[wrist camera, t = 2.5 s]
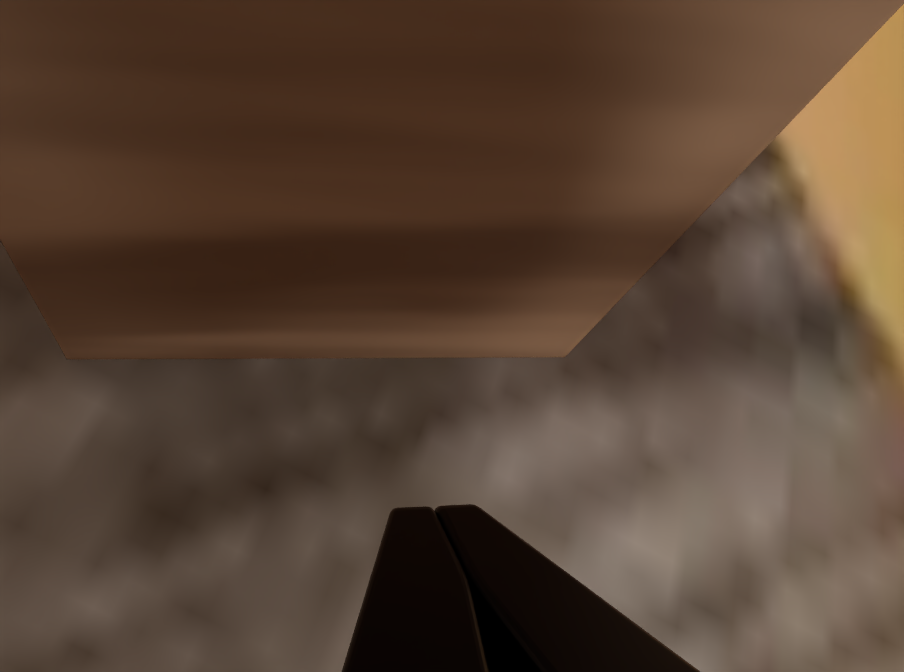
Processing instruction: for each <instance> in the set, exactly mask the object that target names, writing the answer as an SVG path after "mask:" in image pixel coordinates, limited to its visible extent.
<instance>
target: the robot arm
mask: <svg viewBox="0 0 904 672" xmlns="http://www.w3.org/2000/svg"><path fill="white" fill-rule="evenodd" d="M342 672H700V671H699V670H697V669H696V668H695V667H693V666H692V665H691V664H689V663H688V662H686V661H685V660H684V659H682V658H681V657H680V656H678V655H677V654H676V653H674V652H673V651H672V650H670V649H669V648H668V647H666V646H665V645H664V644H662V643H661V642H660V641H658V640H657V639H656V638H654V637H653V636H652V635H650V634H649V633H648V632H646V631H645V630H643V629H642V628H641V627H639V626H638V625H637V624H635V623H634V622H633V621H631V620H630V619H629V618H627V617H626V616H625V615H623V614H622V613H621V612H619V611H618V610H617V609H615V608H614V607H613V606H611V605H610V604H609V603H607V602H606V601H605V600H603V599H602V598H600V597H599V596H598V595H596V594H595V593H594V592H592V591H591V590H590V589H588V588H587V587H586V586H584V585H583V584H582V583H580V582H579V581H578V580H576V579H575V578H574V577H572V576H571V575H570V574H568V573H567V572H566V571H564V570H563V569H562V568H560V567H559V566H557V565H556V564H555V563H553V562H552V561H551V560H549V559H548V558H547V557H545V556H544V555H543V554H541V553H540V552H539V551H537V550H536V549H535V548H533V547H532V546H531V545H529V544H528V543H527V542H525V541H524V540H523V539H521V538H520V537H519V536H517V535H516V534H514V533H513V532H512V531H510V530H509V529H508V528H506V527H505V526H504V525H502V524H501V523H500V522H498V521H497V520H496V519H494V518H493V517H492V516H490V515H489V514H488V513H486V512H485V511H484V510H482V509H481V508H479V507H478V506H476V505H471V504H469V505H449V506H439V507H437V508H436V509H435V511H434V510H433V509H432V508H430V507H405V508H395V509H393V510H392V511H391V512H390V515H389V518H388V521H387V524H386V528H385V531H384V534H383V538H382V541H381V544H380V548H379V551H378V554H377V557H376V561H375V564H374V567H373V571H372V574H371V577H370V580H369V584H368V587H367V590H366V594H365V597H364V600H363V603H362V607H361V610H360V613H359V617H358V620H357V623H356V626H355V630H354V633H353V636H352V640H351V643H350V646H349V649H348V653H347V656H346V659H345V663H344V666H343V669H342Z"/></svg>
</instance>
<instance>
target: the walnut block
mask: <svg viewBox="0 0 904 672" xmlns="http://www.w3.org/2000/svg"><path fill="white" fill-rule="evenodd" d="M903 4H904V0H0V240H1V242H2V244H3V245H4V247H5V249H6V251H7V253H8V254H9V256H10V258H11V260H12V262H13V263H14V265H15V267H16V269H17V271H18V272H19V274H20V276H21V278H22V280H23V281H24V283H25V285H26V287H27V289H28V290H29V292H30V294H31V296H32V298H33V299H34V301H35V303H36V305H37V306H38V308H39V310H40V312H41V314H42V315H43V317H44V319H45V321H46V323H47V324H48V326H49V328H50V330H51V332H52V333H53V335H54V337H55V339H56V341H57V342H58V344H59V346H60V348H61V350H62V351H63V353H64V355H65V357H66V359H252V358H481V357H565V356H566V355H567V354H568V353H569V352H570V351H571V350H572V349H573V348H574V347H575V346H576V345H577V344H578V343H579V342H580V341H581V340H582V339H583V338H584V337H585V336H586V335H587V334H588V332H589V331H590V330H591V329H592V328H593V327H594V326H595V325H596V324H597V323H598V322H599V321H600V320H601V319H602V318H603V317H604V316H605V315H606V314H607V313H608V312H609V311H610V310H611V308H612V307H613V306H614V305H615V304H616V303H617V302H618V301H619V300H620V299H621V298H622V297H623V296H624V295H625V294H626V293H627V292H628V291H629V290H630V289H631V288H632V287H633V286H634V284H635V283H636V282H637V281H638V280H639V279H640V278H641V277H642V276H643V275H644V274H645V273H646V272H647V271H648V270H649V269H650V268H651V267H652V266H653V265H654V264H655V263H656V262H657V260H658V259H659V258H660V257H661V256H662V255H663V254H664V253H665V252H666V251H667V250H668V249H669V248H670V247H671V246H672V245H673V244H674V243H675V242H676V241H677V240H678V239H679V238H680V236H681V235H682V234H683V233H684V232H685V231H686V230H687V229H688V228H689V227H690V226H691V225H692V224H693V223H694V222H695V221H696V220H697V219H698V218H699V217H700V216H701V215H702V214H703V212H704V211H705V210H706V209H707V208H708V207H709V206H710V205H711V204H712V203H713V202H714V201H715V200H716V199H717V198H718V197H719V196H720V195H721V194H722V193H723V192H724V191H725V190H726V188H727V187H728V186H729V185H730V184H731V183H732V182H733V181H734V180H735V179H736V178H737V177H738V176H739V175H740V174H741V173H742V172H743V171H744V170H745V169H746V168H747V167H748V166H749V164H750V163H751V162H752V161H753V160H754V159H755V158H756V157H757V156H758V155H759V154H760V153H761V152H762V151H763V150H764V149H765V148H766V147H767V146H768V145H769V144H770V143H771V142H772V140H773V139H774V138H775V137H776V136H777V135H778V134H779V133H780V132H781V131H782V130H783V129H784V128H785V127H786V126H787V125H788V124H789V123H790V122H791V121H792V120H793V119H794V118H795V116H796V115H797V114H798V113H799V112H800V111H801V110H802V109H803V108H804V107H805V106H806V105H807V104H808V103H809V102H810V101H811V100H812V99H813V98H814V97H815V96H816V95H817V94H818V92H819V91H820V90H821V89H822V88H823V87H824V86H825V85H826V84H827V83H828V82H829V81H830V80H831V79H832V78H833V77H834V76H835V75H836V74H837V73H838V72H839V71H840V70H841V68H842V67H843V66H844V65H845V64H846V63H847V62H848V61H849V60H850V59H851V58H852V57H853V56H854V55H855V54H856V53H857V52H858V51H859V50H860V49H861V48H862V47H863V46H864V44H865V43H866V42H867V41H868V40H869V39H870V38H871V37H872V36H873V35H874V34H875V33H876V32H877V31H878V30H879V29H880V28H881V27H882V26H883V25H884V24H885V23H886V22H887V20H888V19H889V18H890V17H891V16H892V15H893V14H894V13H895V12H896V11H897V10H898V9H899V8H900V7H901V6H902V5H903Z"/></svg>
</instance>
